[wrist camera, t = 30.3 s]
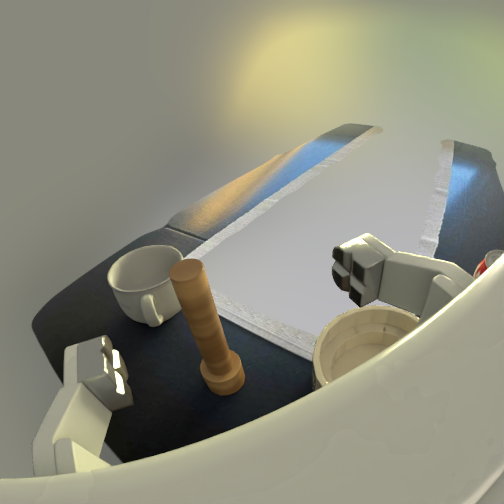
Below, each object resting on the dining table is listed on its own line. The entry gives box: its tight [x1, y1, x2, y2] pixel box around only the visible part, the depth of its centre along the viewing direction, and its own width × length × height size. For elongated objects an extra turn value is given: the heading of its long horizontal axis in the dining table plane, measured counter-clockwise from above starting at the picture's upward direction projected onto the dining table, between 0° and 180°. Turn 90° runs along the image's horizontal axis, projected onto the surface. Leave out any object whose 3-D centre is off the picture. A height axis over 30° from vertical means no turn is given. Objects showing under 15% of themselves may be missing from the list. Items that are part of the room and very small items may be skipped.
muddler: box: [169, 259, 245, 395], centre depth 27 cm, size 4×4×16 cm
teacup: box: [107, 245, 183, 327], centre depth 40 cm, size 14×11×8 cm
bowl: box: [312, 305, 420, 392], centre depth 27 cm, size 13×13×6 cm
